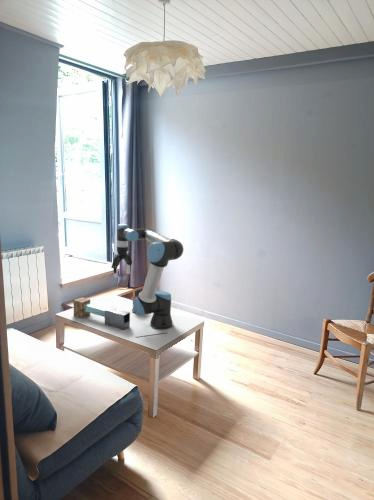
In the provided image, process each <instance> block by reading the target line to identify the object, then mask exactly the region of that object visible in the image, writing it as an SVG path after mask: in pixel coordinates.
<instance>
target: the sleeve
mask: <svg viewBox="0 0 374 500" xmlns="http://www.w3.org/2000/svg"><path fill="white" fill-rule="evenodd" d="M130 324H131V312H130V311H126V310H123V309H119V308H115V307H112V306H111V307H108V308H107V309H106V310H105V317H104V325H105V326H108V327H111V328H115V329H118V330H120V331H125V330H127V329H129V328H130Z"/></svg>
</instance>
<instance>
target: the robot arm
mask: <svg viewBox="0 0 374 500" xmlns="http://www.w3.org/2000/svg"><path fill="white" fill-rule="evenodd" d="M116 233H117V234H116V235H117V236H116V240H117V241H116V242H117V243H116V244H117V246H116V252H117V253H115V254H114V258H113V261H112V263H111V269H113V278H114V279H118V277H119V275H118V274H119V273H118V271H119V269H118V268H119V265H120V263H121V261H123V260H124V261H125V263H126V265H125V267H126V268H125V273H126V274H127V275H130V274H131V266H132V265H133V261H132V257H131V254H130V253H131V251H129V242H135V241H140V240H145V241H147V242H149V243H151V244H149V245H148V247H147V255H146V256H147V259H148V261H149V263H150V264H149V268H148V271H147V274H146V277H145V281H144V285H143V287H142V291H140V292H139V293H138V295H137V296H138V298H135V299H134V300H132V308H133V307H134V310H135V312H136V315H138V316H145V315H150V314H152V317H151V319H150V327H151V328H154V329H158V330H166V329H167V330H168V329H170V328H172V327H173V325H174V324H173V320H172V316H171V315H172V314H171V310H172V309H171V307H172V295H171V293H170V292H169V291H168V292H167V291H163V290H158V287H159V284H160V280H161V278H162V274H163V271H164V268H166V267H167V266H168V265H169V261H173V260H178V259H180V258H181V257H182V255H183V253H184V246H183V243H182V242H181V241H179V240H178V239H174V238H169V237H166V236H164V235H162V234H160V233H157V232H156V231H155V229H154V228H149V227H147V228H146V227H145V228H129V225H128V224H126V223H123V224H122V223H118V225H117V229H116ZM135 312H134V313H135Z"/></svg>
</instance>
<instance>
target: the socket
mask: <svg viewBox="0 0 374 500" xmlns="http://www.w3.org/2000/svg"><path fill="white" fill-rule="evenodd" d="M88 302H90V303H91V299H89V298H87V297H79V298H76V299H73V316H75V317H76V318H81V319H84V318H86V317H89V316H91V313H89V312H83V304H85V303H88ZM83 317H84V318H83Z"/></svg>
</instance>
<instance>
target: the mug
mask: <svg viewBox="0 0 374 500" xmlns="http://www.w3.org/2000/svg"><path fill="white" fill-rule="evenodd" d="M138 296H139V295H135V296H132V297H131V300H132V301H133V300H134V299H135V298H138ZM131 311H132V313H136V312H135V310H134V307H133V306H132V308H131Z"/></svg>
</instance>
